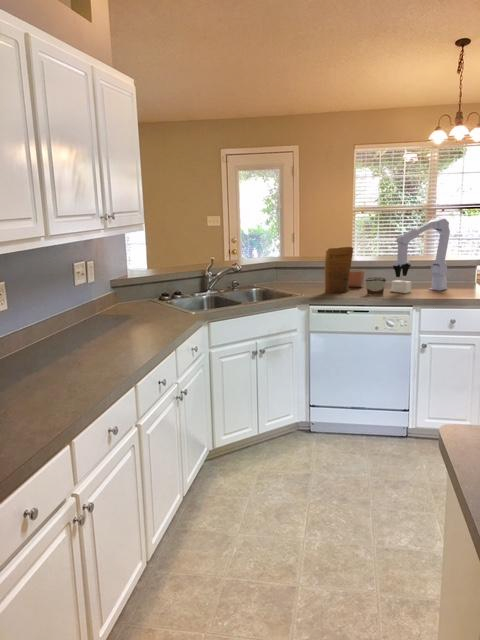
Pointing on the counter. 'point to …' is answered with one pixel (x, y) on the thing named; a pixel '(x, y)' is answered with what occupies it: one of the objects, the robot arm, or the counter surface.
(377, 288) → the food container
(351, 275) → the planter
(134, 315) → the counter surface
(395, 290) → the cream white block
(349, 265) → the pancake mix bag
